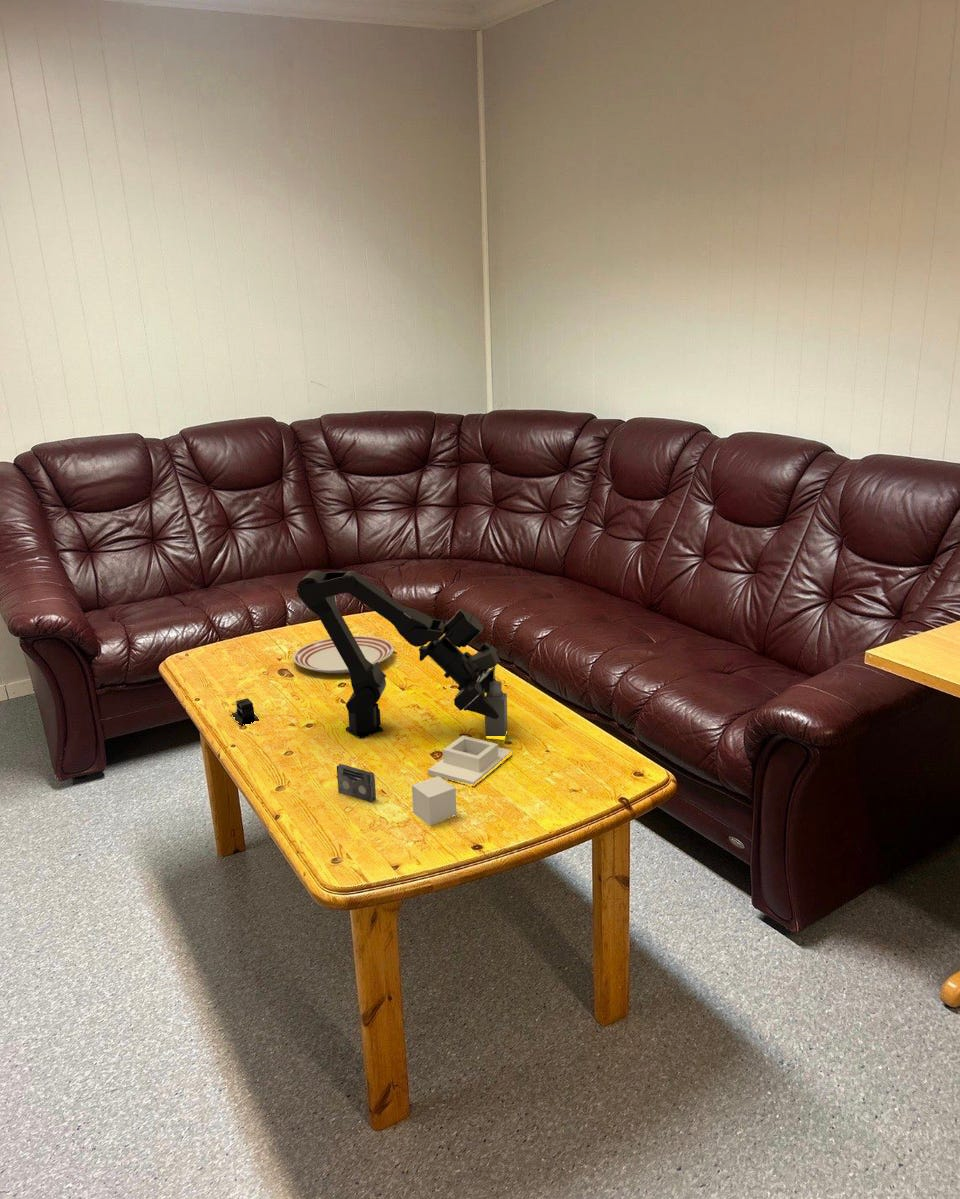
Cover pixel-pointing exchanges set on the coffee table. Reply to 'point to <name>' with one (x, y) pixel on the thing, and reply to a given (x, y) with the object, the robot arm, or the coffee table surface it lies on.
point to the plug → (500, 705)
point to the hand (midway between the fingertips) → (501, 709)
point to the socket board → (468, 760)
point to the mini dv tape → (356, 783)
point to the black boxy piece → (245, 712)
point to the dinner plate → (329, 660)
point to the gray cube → (434, 800)
